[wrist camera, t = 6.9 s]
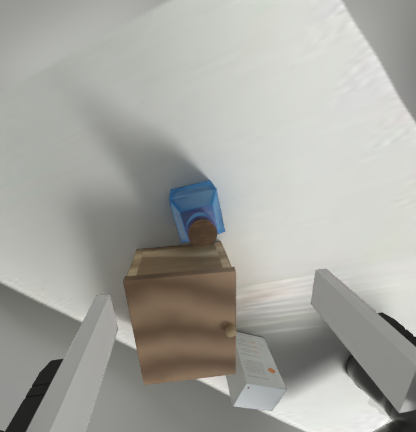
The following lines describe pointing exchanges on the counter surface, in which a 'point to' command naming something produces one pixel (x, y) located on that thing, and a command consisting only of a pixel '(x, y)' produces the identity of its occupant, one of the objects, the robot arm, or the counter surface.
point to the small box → (255, 375)
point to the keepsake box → (178, 259)
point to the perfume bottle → (197, 213)
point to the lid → (184, 323)
